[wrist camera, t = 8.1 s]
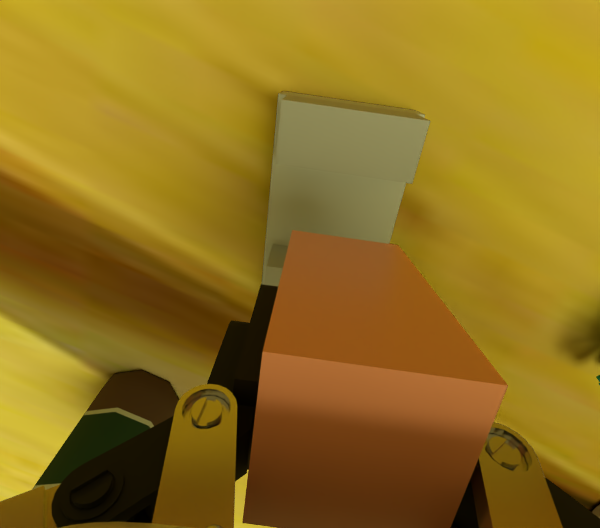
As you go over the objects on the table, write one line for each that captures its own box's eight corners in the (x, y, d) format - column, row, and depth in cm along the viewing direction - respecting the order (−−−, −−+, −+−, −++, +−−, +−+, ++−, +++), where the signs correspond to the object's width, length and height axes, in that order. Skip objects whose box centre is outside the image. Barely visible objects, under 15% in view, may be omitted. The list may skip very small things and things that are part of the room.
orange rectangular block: (398, 245, 13) (508, 386, 6) (376, 337, 15) (442, 550, 7) (292, 229, 13) (262, 351, 6) (279, 323, 15) (242, 522, 7)
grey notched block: (359, 319, 29) (366, 369, 24) (263, 306, 29) (250, 353, 24) (414, 110, 21) (440, 122, 17) (283, 91, 21) (270, 97, 16)
